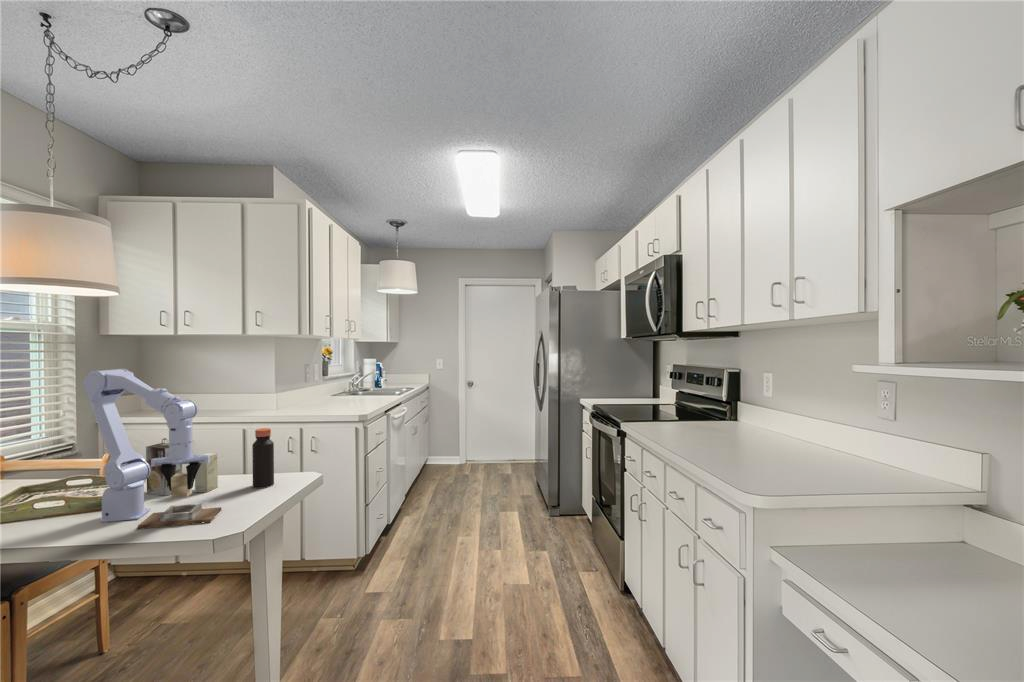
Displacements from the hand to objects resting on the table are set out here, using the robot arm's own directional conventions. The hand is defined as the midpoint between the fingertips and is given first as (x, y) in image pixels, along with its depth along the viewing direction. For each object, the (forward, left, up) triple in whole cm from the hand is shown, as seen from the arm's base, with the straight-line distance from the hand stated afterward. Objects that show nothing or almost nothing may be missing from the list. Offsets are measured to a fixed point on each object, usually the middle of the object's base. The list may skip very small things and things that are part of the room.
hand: (181, 488), depth 144 cm
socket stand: (0, 0, -9) cm, 9 cm away
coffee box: (-15, +30, -9) cm, 35 cm away
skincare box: (-2, +29, -9) cm, 30 cm away
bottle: (+16, +29, -9) cm, 34 cm away
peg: (0, 0, -2) cm, 2 cm away
